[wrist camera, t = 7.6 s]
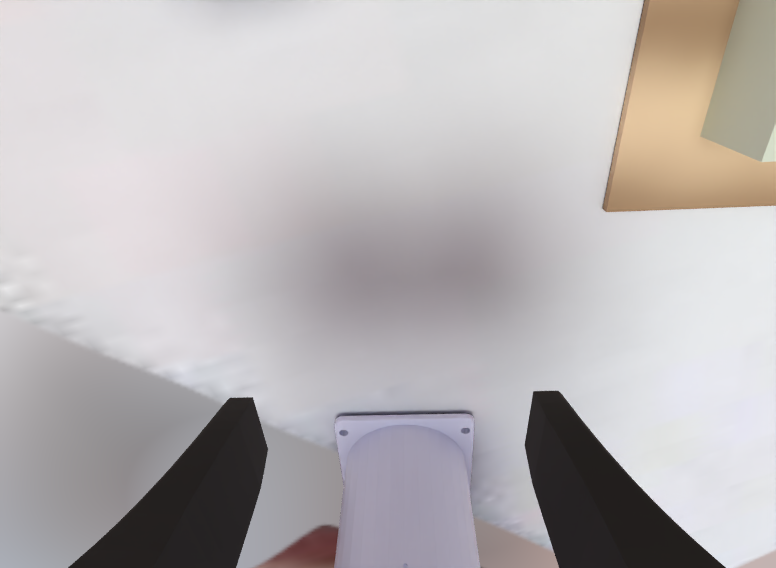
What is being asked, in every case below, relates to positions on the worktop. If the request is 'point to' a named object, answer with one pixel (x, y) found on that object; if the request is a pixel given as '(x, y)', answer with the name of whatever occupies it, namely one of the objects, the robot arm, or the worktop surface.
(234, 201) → the worktop surface
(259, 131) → the worktop surface
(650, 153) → the cork mat
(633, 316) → the worktop surface
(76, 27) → the worktop surface
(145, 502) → the robot arm
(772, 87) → the sage block
